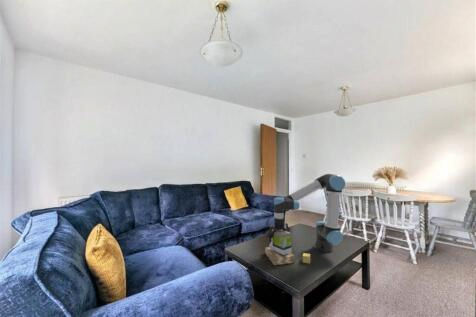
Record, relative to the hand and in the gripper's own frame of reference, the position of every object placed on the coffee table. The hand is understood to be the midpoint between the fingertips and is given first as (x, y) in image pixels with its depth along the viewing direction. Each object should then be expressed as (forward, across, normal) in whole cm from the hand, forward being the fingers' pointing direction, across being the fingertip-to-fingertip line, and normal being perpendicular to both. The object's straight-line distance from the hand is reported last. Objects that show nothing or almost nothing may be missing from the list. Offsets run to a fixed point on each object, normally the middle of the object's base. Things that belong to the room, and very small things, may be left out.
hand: (279, 245), depth 161 cm
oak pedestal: (+10, 0, 0) cm, 10 cm away
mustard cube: (+10, -18, +10) cm, 22 cm away
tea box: (+4, 0, +1) cm, 4 cm away
